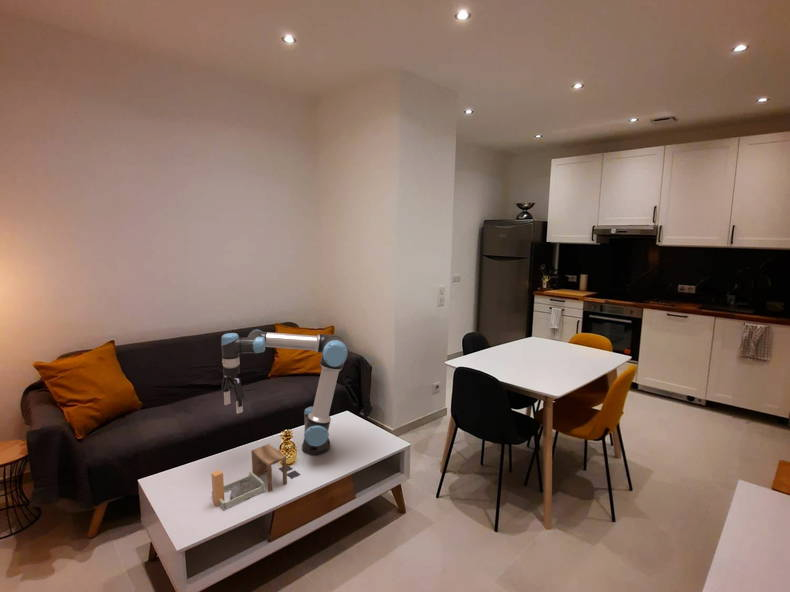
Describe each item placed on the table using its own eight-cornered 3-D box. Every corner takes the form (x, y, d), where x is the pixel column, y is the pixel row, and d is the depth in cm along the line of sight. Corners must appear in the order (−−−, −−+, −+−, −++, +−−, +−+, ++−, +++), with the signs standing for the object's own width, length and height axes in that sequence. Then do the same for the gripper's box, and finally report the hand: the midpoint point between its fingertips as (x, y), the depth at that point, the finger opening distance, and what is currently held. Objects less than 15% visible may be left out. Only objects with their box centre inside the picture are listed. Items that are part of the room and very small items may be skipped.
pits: (287, 465, 209) (287, 464, 209) (300, 474, 200) (300, 474, 200) (278, 468, 205) (278, 468, 205) (291, 478, 197) (291, 478, 197)
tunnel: (269, 469, 204) (268, 443, 202) (287, 483, 193) (286, 456, 191) (252, 477, 198) (251, 450, 196) (269, 492, 187) (268, 463, 185)
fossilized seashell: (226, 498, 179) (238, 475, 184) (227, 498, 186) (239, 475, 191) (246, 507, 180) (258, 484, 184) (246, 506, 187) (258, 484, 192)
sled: (251, 479, 196) (250, 452, 194) (264, 490, 187) (263, 462, 185) (209, 497, 182) (207, 468, 180) (220, 510, 173) (219, 480, 171)
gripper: (212, 361, 203) (215, 403, 206) (234, 374, 185) (237, 418, 189) (228, 358, 208) (230, 398, 211) (250, 370, 191) (252, 413, 194)
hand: (233, 408), depth 200 cm, fingers open, 13 cm apart
